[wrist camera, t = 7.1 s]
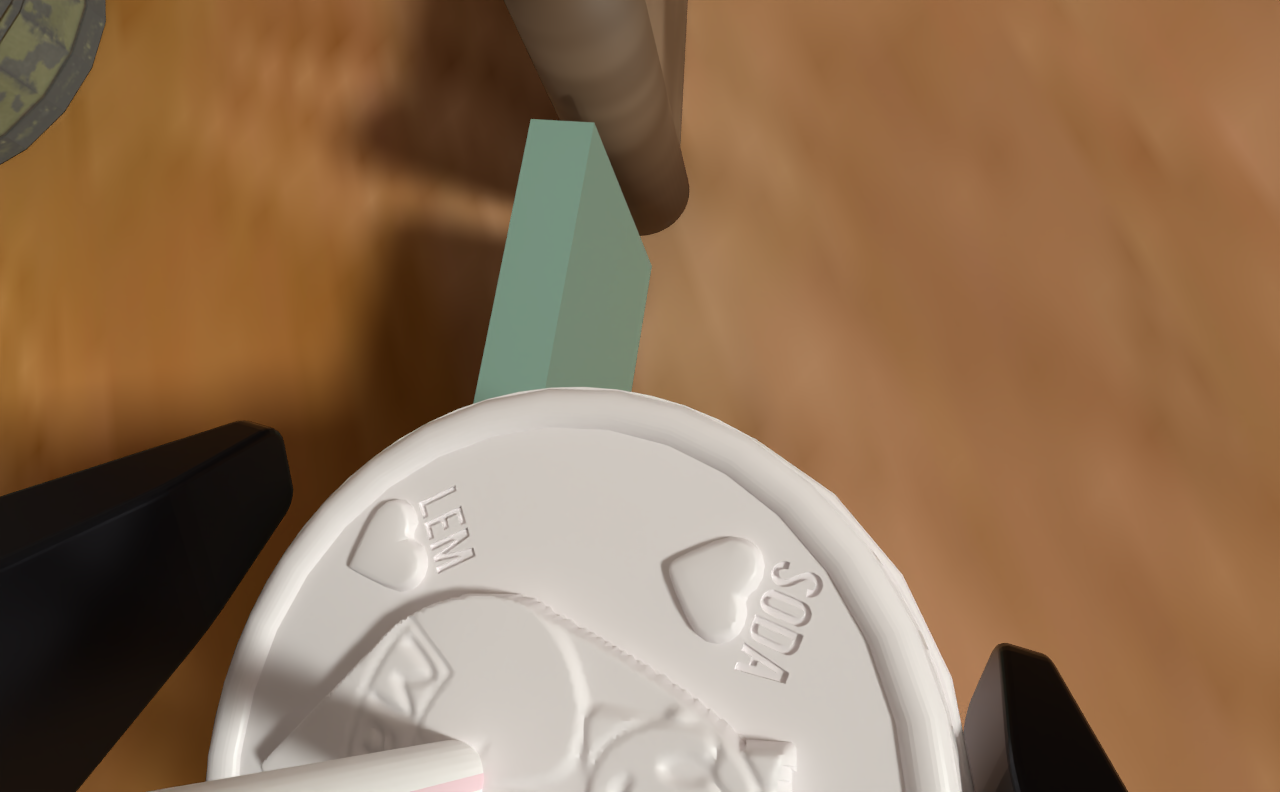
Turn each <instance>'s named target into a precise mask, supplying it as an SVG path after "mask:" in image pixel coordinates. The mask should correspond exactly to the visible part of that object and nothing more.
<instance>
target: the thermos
mask: <svg viewBox="0 0 1280 792" xmlns="http://www.w3.org/2000/svg"><path fill="white" fill-rule="evenodd" d="M105 22H106V16H105V0H0V164H1V163H3V162H5V161H7V160H8V159H10V158H12V157H13V156H15V155H17V154H18V153H20V152H22V151H24V150H25V149H27V148H28V147H29V146H30V145H31V144H32V143H33V142H34V141H35V140H36V139H37V138H38V137H39V136H40V135H41V134H42V133H43V132H44V131H45V130H46V129H47V128H48V127H49V126H50V125H51V124H52V123H53V122H54V121H55V120H56V119H57V118H58V117H59V116H60V115H61V114H62V113H63V112H64V111H65V110H66V108H67V107H68V105H69V103H70V102H71V100H72V99H73V97H74V95H75V94H76V92H77V91H78V89H79V87H80V86H81V84H82V83H83V81H84V79H85V78H86V76H87V74H88V73H89V71H90V70H91V68H92V65H93V62H94V59H95V55H96V52H97V49H98V45H99V42H100V39H101V35H102V32H103V29H104V26H105Z"/></svg>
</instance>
